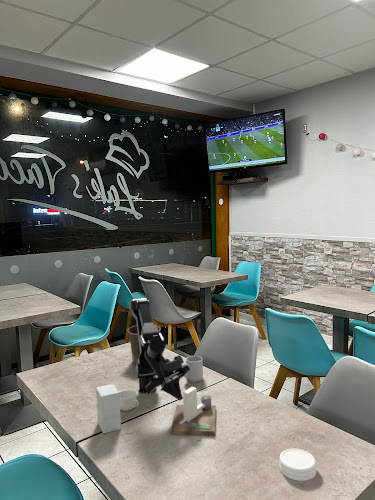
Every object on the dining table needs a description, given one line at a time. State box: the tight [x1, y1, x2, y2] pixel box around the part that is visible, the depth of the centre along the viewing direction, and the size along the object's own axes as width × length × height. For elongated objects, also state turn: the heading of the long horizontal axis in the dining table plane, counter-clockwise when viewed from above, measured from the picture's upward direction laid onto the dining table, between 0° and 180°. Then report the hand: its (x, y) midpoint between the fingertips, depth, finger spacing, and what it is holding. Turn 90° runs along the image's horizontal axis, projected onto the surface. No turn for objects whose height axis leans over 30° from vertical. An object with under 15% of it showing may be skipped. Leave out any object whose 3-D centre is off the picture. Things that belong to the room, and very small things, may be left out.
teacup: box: [118, 389, 140, 412], centre depth 146 cm, size 10×8×5 cm
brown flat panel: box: [170, 404, 217, 437], centre depth 136 cm, size 14×17×2 cm
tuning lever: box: [180, 386, 212, 424], centre depth 137 cm, size 16×4×10 cm, turn 140°
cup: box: [183, 355, 204, 383], centre depth 170 cm, size 7×10×9 cm
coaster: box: [278, 448, 317, 482], centre depth 110 cm, size 10×10×4 cm
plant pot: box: [126, 324, 162, 365], centre depth 193 cm, size 16×16×16 cm
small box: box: [95, 383, 122, 434], centre depth 134 cm, size 8×6×13 cm
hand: (181, 399), depth 137 cm, fingers closed
